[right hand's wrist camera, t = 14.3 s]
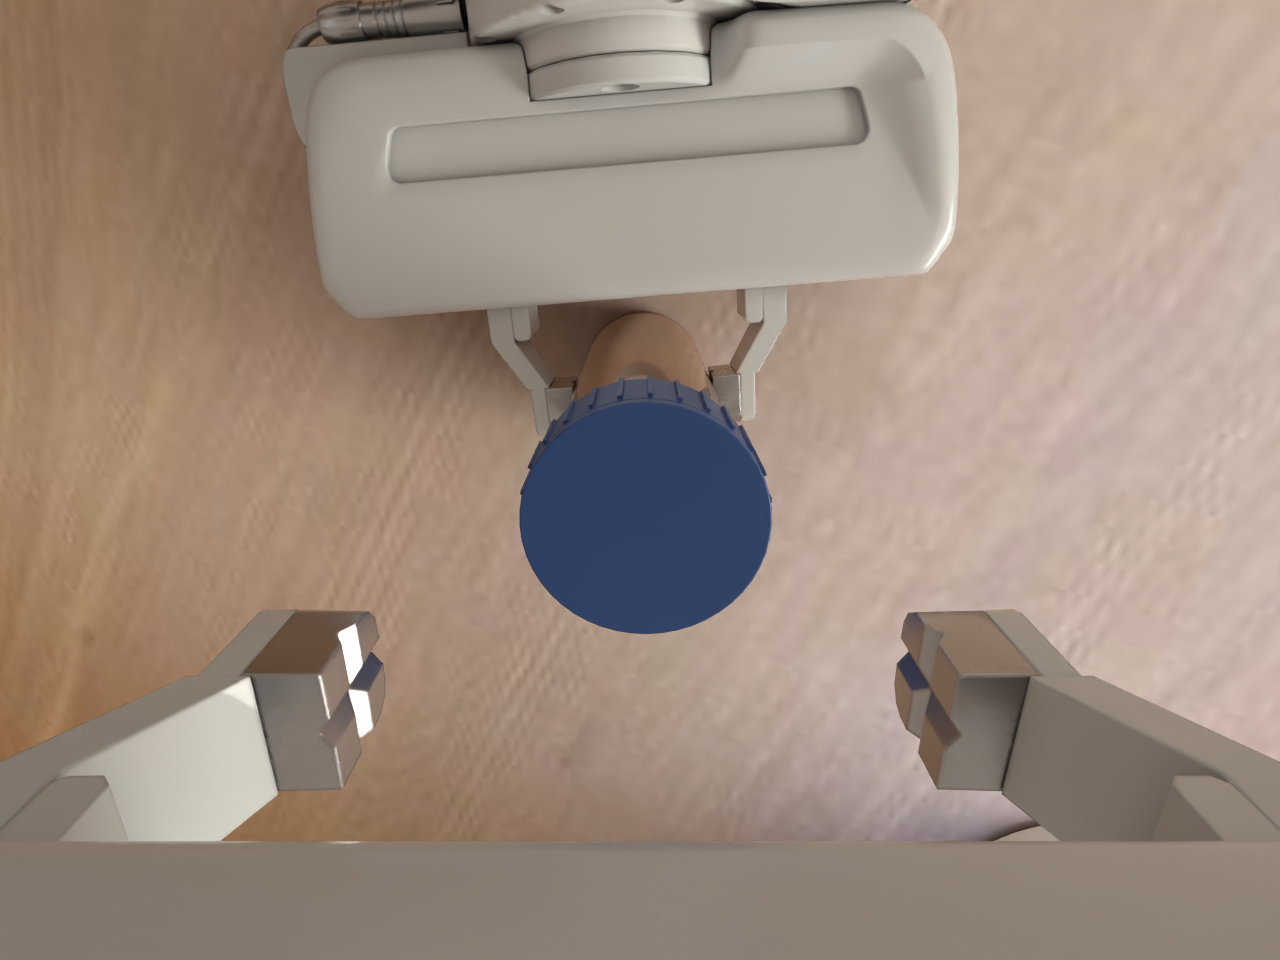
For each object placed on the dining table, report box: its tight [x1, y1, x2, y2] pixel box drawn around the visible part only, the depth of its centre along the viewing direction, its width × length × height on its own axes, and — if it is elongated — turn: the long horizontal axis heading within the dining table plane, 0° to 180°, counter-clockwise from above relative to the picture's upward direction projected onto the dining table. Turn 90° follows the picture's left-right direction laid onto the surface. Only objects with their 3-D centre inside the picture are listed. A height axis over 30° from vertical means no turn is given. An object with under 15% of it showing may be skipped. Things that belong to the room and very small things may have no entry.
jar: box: [567, 312, 722, 409], centre depth 23 cm, size 5×5×16 cm
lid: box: [520, 376, 772, 634], centre depth 16 cm, size 6×6×2 cm
